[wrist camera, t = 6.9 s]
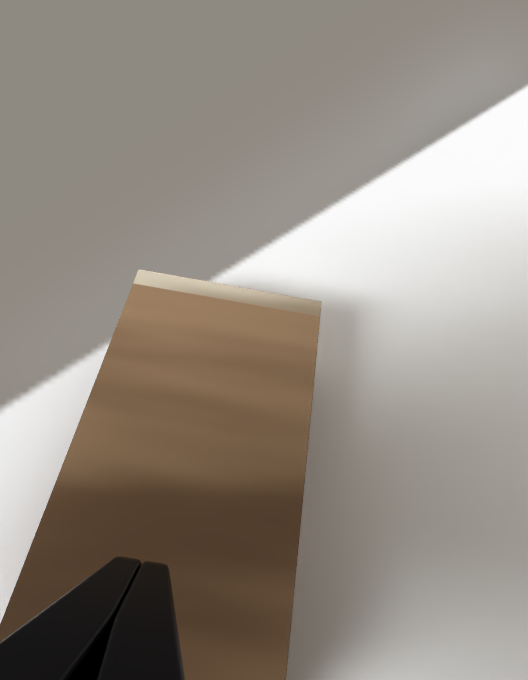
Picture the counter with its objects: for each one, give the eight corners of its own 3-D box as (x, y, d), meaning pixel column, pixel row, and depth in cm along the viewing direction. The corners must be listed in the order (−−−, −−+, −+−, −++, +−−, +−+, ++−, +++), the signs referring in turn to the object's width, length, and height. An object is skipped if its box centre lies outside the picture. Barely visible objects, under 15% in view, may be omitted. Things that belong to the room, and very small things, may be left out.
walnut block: (272, 816, 8) (321, 301, 15) (-54, 762, 8) (138, 269, 15) (254, 763, 12) (300, 362, 18) (22, 724, 12) (152, 336, 18)
